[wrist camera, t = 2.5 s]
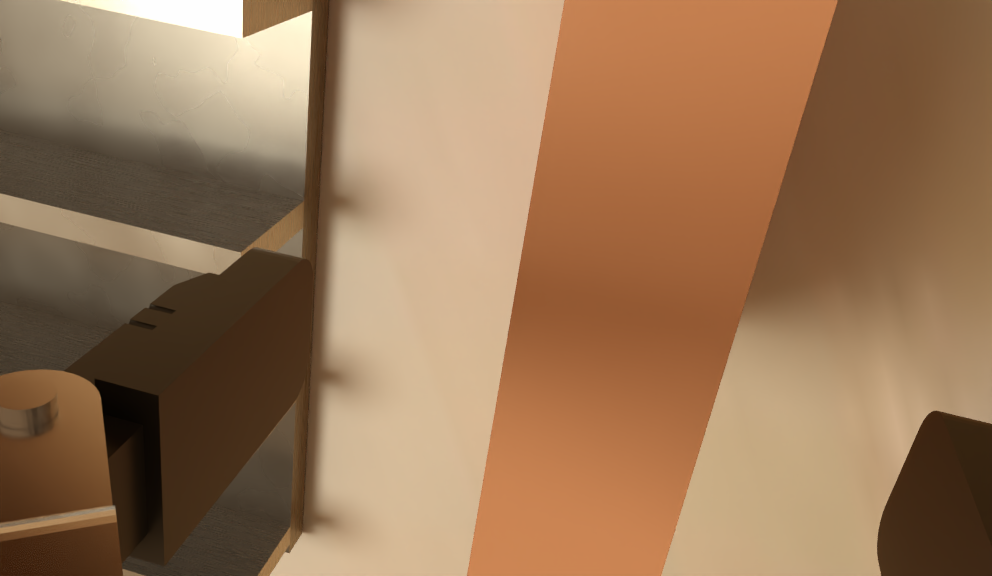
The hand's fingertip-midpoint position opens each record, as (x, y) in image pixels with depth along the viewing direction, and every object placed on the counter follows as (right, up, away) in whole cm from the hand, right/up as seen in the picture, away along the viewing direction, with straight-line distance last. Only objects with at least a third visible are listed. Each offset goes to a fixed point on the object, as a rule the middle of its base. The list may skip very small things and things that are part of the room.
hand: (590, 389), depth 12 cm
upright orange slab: (+3, +5, +10) cm, 12 cm away
